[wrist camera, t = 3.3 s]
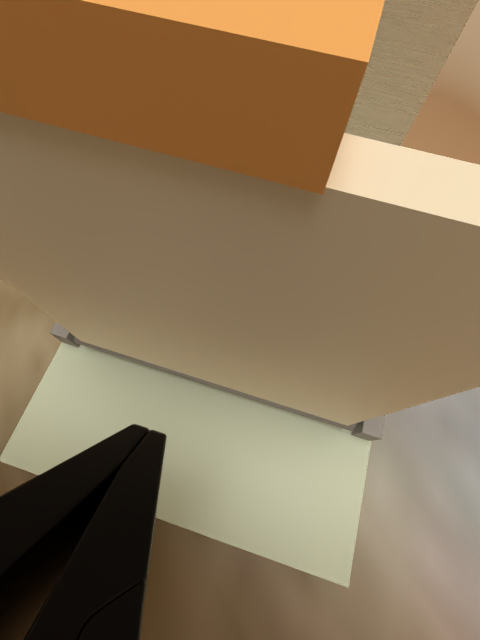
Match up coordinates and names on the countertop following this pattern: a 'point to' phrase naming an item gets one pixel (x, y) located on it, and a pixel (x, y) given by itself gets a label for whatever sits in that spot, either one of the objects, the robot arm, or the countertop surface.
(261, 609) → the countertop surface
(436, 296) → the hinged cream panel
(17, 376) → the countertop surface
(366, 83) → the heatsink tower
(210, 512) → the pale green base plate
